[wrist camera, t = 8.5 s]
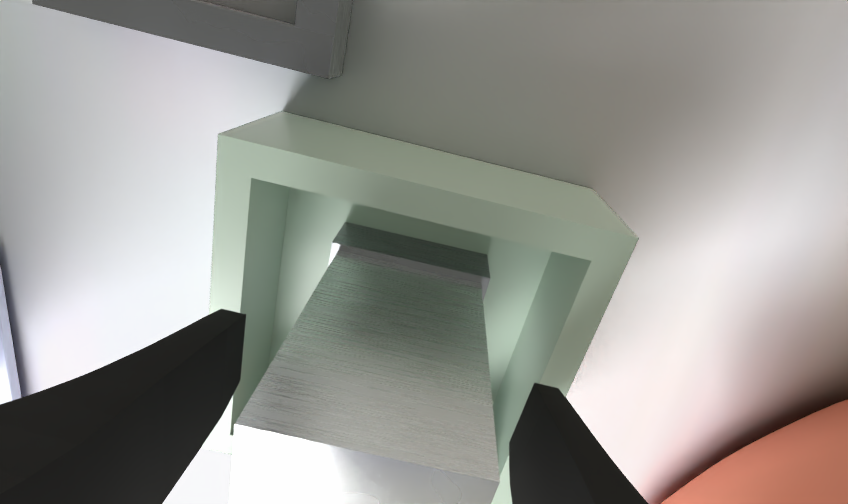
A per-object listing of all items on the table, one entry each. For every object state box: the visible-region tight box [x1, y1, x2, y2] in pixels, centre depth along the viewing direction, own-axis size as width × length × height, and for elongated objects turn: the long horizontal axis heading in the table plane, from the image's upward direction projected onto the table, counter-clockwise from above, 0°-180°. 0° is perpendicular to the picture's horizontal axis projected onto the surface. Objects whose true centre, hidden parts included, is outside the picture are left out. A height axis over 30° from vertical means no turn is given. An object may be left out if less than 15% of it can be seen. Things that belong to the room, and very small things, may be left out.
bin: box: [203, 111, 639, 504], centre depth 14 cm, size 10×10×4 cm
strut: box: [229, 222, 500, 504], centre depth 11 cm, size 4×4×8 cm
